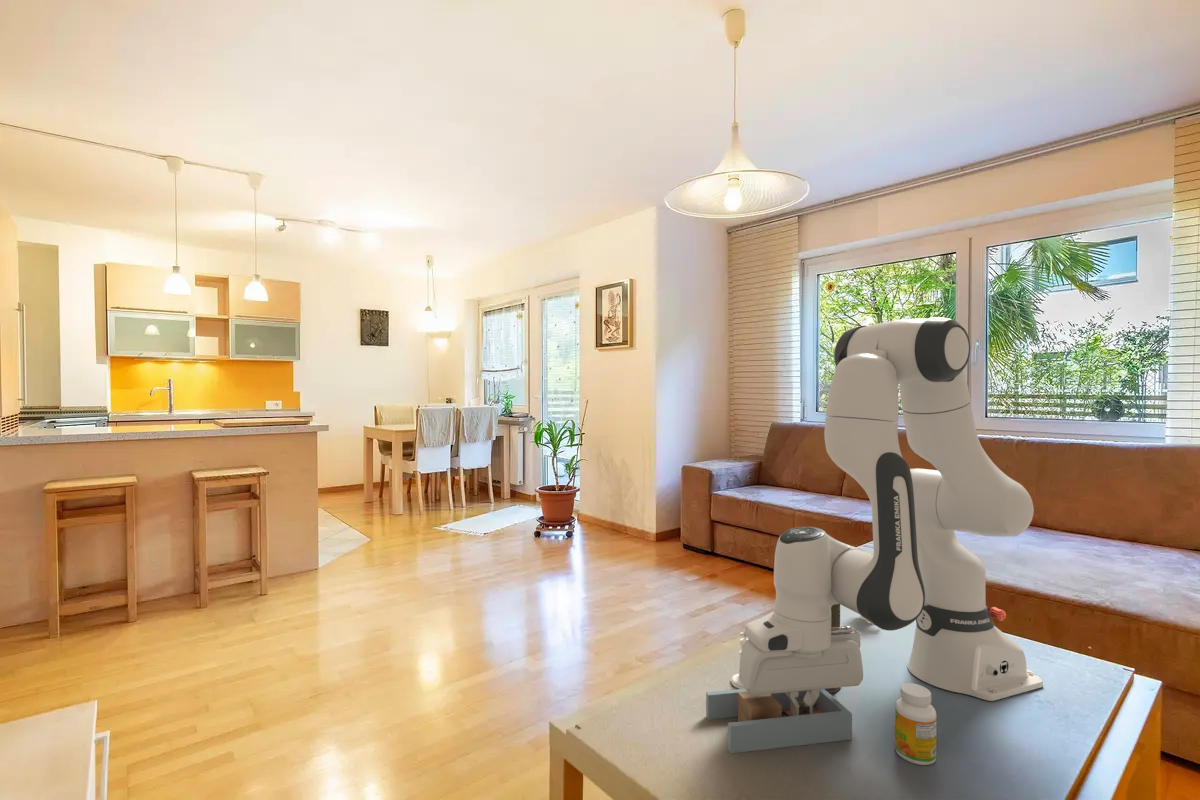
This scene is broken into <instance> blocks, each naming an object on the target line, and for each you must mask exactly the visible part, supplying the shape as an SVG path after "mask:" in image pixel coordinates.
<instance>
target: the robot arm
mask: <svg viewBox="0 0 1200 800" xmlns="http://www.w3.org/2000/svg"><path fill="white" fill-rule="evenodd" d="M970 342H971V341H970V337H969V334H968V332H967V331H966V329H965V328H964V327H963V326H962V325H961V324H960V323H959V322H958V321H957V320H955V319H952V318H947V317H941V316H940V317H938V316H934V317H933V316H931V317H929V318H903V319H894V320H891V321H888V322H887V321H886V322H880V323H875V324H869V325H859V326H856V327H853V328H849V329H848V330H846V331H845V332H843V333H842V334H841V336H840V337H839V339H838V341H837V342H836V344H835V346H834V347H835V348H834V354H833V355H834V357H833V358H834V359H833V360H834V364H835V368H834V369H835V370H834V373H833V377H832V380H831V382H830V383H831V384H830V388H829V391H828V396H827V397H828V398H827V401H826V402H827V403H826V410H825V419H824V420H825V421H824V433H823V435H824V444H825V450H826V453H827V455H828V456H829V458H830V460H831V461H832V462H833V463H834V464H835V465H836V466H837V467H838V468H839V469H841V470H842V471H843V472H845V473H846V474H847V475H849V476H850V477H851V478H853V480H854V481H856V482H857V483H858V484H859V485H860V486H861V488H862V489H863V490H864V491H865V494H866V495H867V497H868V499H869V502H870V506H871V518H872V519H871V520H872V521H871V522H872V543H873V553H871V552H869V551H867V550H864V549H861V548H859V547H856V546H853V545H850V544H847V543H844V542H842V541H839V540H838V539H835V538H834V537H832V536H831V535H829V534H827V532H826V531H825V530H823V529H822V528H819V527H814V526H797V527H791V528H789V529H787V530H785V531H783V532H782V533H781V534H780V535H779V537H778V539H777V541H776V546H775V551H774V561H773V562H774V563H773V564H774V565H773V584H774V585H773V586H774V589H775V600H774V603H773V611H771V612H769V613H767V614H766V615H764V616H761V617H760V618H758V619H755V620H752V621H750V622H748V623H746V624H745V626H744V629H745V634H746V638H747V639H748V640H747V641H746V642H745V643H744V645H743V647H742V648H741V650H740V651H741V655H740V658H739V669H738V670H739V672H738V674H739V678H740V682H741V684H742V685H743V687H744V688H745V689H746V690H747V691H748V692H749V693H750V694H751V695H764V694H774V693H785V694H786V696H787V697H788V699H789V701H790V702H791V713H792V715H793V716H798V715H807V714H813V705H814V704H815V702H816V700H817V698H818V697H819V689H828V688H838V687H841V688H847V687H857V686H860V685H861V683H862V682H863V679H864V666H863V659H862V653H861V635H860V633H859V631H858V630H857V629H855V628H853V627H852V626H850V625H844V626H840V627H831V607H832V605H835V604H840V606H842V607H845V608H846V609H848V610H851V611H853V612H855V613H856V614H858V615H861V616H863V617H864V618H865V619H867V620H868V621H870V622H871V623H873V625H874V626H876V627H877V628H879V629H881V630H884V631H890V632H891V631H892V632H893V631H896V630H900V629H903V628H905V627H908V626H909V625H911V624H912V623H914V622H915V623H916V625H915V631H914V637H913V644H912V648H911V652H910V656H909V660H908V662H907V669H908V670H909V672H910V673H911V674H912V675H913V676H914V677H916V678H918V679H920V680H921V681H923V682H925V683H927V684H928V685H931V686H934V687H937V688H940V689H941V690H946V691H950V692H955V693H959V694H965V695H969V696H972V697H975V698H978V699H981V700H985V701H988V702H989V701H990V702H995V701H998V700H1001V699H1005V698H1008V697H1011V696H1016V695H1019V694H1023V693H1027V692H1030V691H1034V690H1036V689H1040V688H1043V687H1044V684H1043V680H1042V679H1041V678H1040V676H1038V675H1037V674H1036V673H1035V672H1034V671H1032V670H1031V669H1028V668H1027V660H1026V655H1025V653H1024V650H1023V648H1022V647H1021V646H1020V645H1019V644H1018V643H1017V642H1015V641H1014V640H1013V639H1011V637H1009V636H1008V635H1006V633H1004V632H1003V631H1001V630H1000V629H999V628H998V627H997V626H995V623H994V621H993V619H996V620H997V621H1000V622H1003V621H1004V620H1005V619H1006V617H1007V614H1006V612H1005V610H1004V609H1000V608H998V607H996V606H993V607H989V606H988V605H987V604H986V584H987V583H986V582H987V581H986V574H987V572H986V569H985V566H984V564H983V562H982V560H981V559H980V558H979V557H978V556H977V555H976V554H974V553H973V552H971V551H970V550H969V549H967V548H966V547H965V546H964V545H963V544H962V543H961V542H960V540H959V538H958V537H957V535H956V532H955V531H957V532H961V533H967V534H971V535H977V536H978V535H979V536H984V537H1017V536H1019V535H1021V534H1022V533H1023V532H1025V531H1026V530H1027V529H1028V527H1029V526H1030V524H1031V522H1032V521H1033V518H1034V511H1035V507H1034V503H1033V499H1032V497H1031V495H1030V493H1029V492H1028V491H1027V489H1026V488H1025V487H1024V485H1022V484H1021V483H1020V482H1018V481H1016V480H1014V479H1013V478H1011V477H1009V476H1008V475H1007V474H1006V473H1005V472H1004V471H1002V470H1001V469H1000V468H999V467H998V466H997V465H996V464H995V462H993V460H992V459H991V458H990V457H989V456H988V454H987V453H986V451H985V449H984V448H983V446H982V445H981V444H982V443H981V442H980V439H979V436H978V432H977V429H976V425H975V420H974V414H973V407H972V401H971V397H970V395H971V394H970V391H969V386H968V383H967V379H966V376H965V373H964V369H965V368H966V366H967V364H968V362H969V359H970V357H971V356H970V354H971V343H970ZM898 387H899V388H898ZM899 394H900V395H899ZM899 396H900V399H899ZM899 400H900V403H899ZM899 404H901V410H902V416H903V421H904V428H905V432H906V434H905V435H906V439H907V443H908V447H909V448H910V449H911V450H912V451H913V452H914V453H915V454H916V455H918V456H919V457H920V458H922V459H924V460H925V461H927V462H928V463H930V464H931V465H932V466H933V467H934V468H935V469H927V468H917V467H916V468H910V466H909V464H908V463H907V461H906V460H905V458H903V455H902V452H901V447H900V443H899V433H898V432H899V431H898V429H899V423H898V422H899V412H900V411H899V410H900V409H899V408H900V407H899ZM867 620H866V621H867ZM871 623H870V624H871ZM806 690H807V693H806V695H805V697H804V699H803V700H802V701H797V700H796V699H795V697H798V691H806Z"/></svg>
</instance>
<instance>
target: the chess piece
mask: <svg viewBox="0 0 1200 800" xmlns="http://www.w3.org/2000/svg"><path fill="white" fill-rule="evenodd" d="M739 634H740V637H743V638H739V644H740V647H741V649H742V647H743V645H744V643H745V642H746V641H747V640H748V637H747V636H746V634H745V628H744V629H743V632H741V631H740V633H739ZM738 654H739V655H740V656H741V650H739V652H738ZM730 683H731V685H732V686H733V687H734V688H735V689H745V688H744V687H743V685H742V684H741V682H740V678H739V673H736V674H733V676H732V677H731V681H730Z"/></svg>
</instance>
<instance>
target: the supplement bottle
mask: <svg viewBox="0 0 1200 800" xmlns="http://www.w3.org/2000/svg"><path fill="white" fill-rule="evenodd" d="M899 692H900V694H899V695H900V697H899V698H898V699H897V700H896V701H895V705H894V714H895V715H894V725H895V726H894V749H895V751H896V753H897V755H898V756H900V757H901V758H902V759H904V760H905V761H907V762H909V763H911V764H914V765H919V766H928V765H932V764H934V763H935V762H936V760H937V710H936V709H935V707H934V706H933V705H932V704H931V703H932V692H931V691H930V690H929V689H928V688H927V687H925V686H923V685H920V684H916V683H913V682H912V683H911V682H910V683H909V682H906V683H902V684H901V685H900V691H899Z"/></svg>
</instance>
